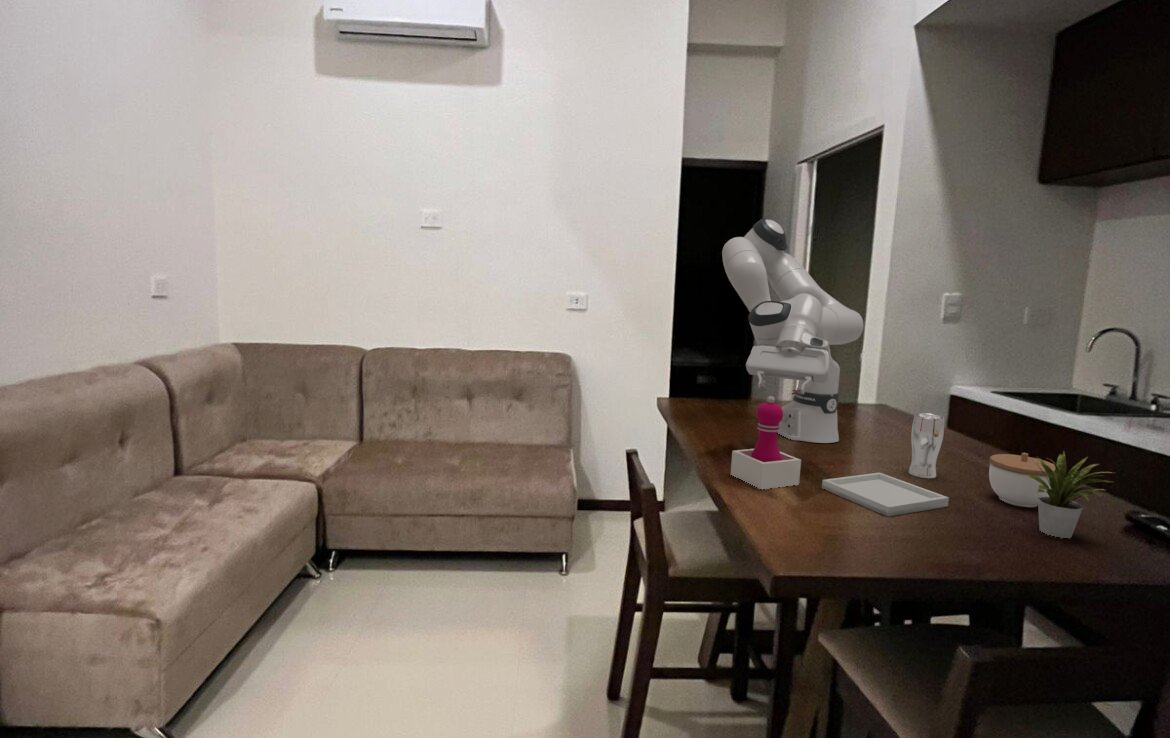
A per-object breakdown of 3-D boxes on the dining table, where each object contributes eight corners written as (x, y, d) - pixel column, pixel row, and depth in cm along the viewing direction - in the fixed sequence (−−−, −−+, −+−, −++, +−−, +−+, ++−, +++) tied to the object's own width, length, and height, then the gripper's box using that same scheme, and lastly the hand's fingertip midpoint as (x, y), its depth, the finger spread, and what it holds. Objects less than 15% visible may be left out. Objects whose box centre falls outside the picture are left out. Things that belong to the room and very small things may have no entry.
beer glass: (906, 475, 160) (913, 416, 157) (907, 468, 166) (913, 411, 163) (938, 481, 156) (945, 420, 154) (937, 473, 162) (945, 415, 160)
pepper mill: (758, 473, 157) (765, 392, 154) (785, 480, 152) (793, 397, 149) (742, 479, 152) (748, 395, 149) (770, 487, 147) (777, 400, 144)
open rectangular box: (730, 475, 154) (732, 450, 153) (767, 470, 159) (769, 447, 158) (760, 490, 144) (763, 464, 143) (798, 485, 149) (801, 459, 148)
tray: (821, 488, 147) (822, 479, 147) (878, 480, 155) (879, 472, 154) (887, 516, 131) (888, 507, 131) (947, 506, 139) (948, 497, 138)
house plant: (1070, 555, 116) (1084, 467, 113) (994, 526, 128) (1006, 446, 126) (1116, 544, 122) (1131, 460, 119) (1040, 517, 134) (1052, 441, 132)
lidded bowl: (972, 495, 147) (978, 447, 145) (1008, 489, 152) (1015, 444, 150) (1028, 514, 136) (1036, 464, 134) (1065, 508, 141) (1073, 459, 139)
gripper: (752, 335, 167) (736, 376, 160) (835, 342, 156) (822, 387, 150) (756, 350, 172) (741, 392, 165) (837, 358, 161) (824, 403, 154)
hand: (780, 389), depth 157 cm, fingers open, 8 cm apart
